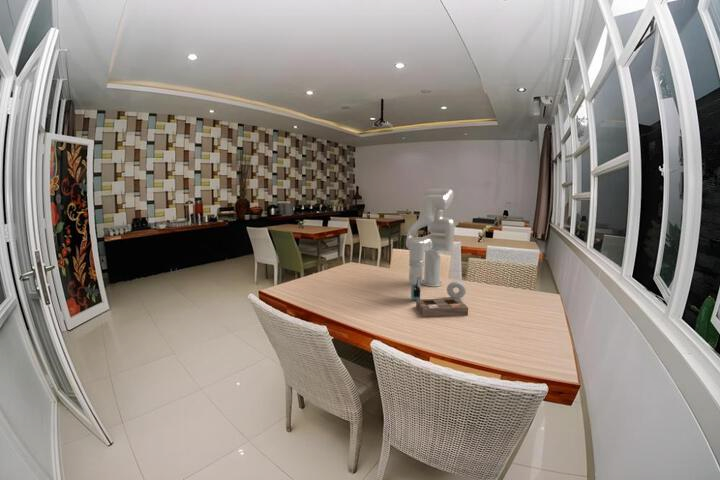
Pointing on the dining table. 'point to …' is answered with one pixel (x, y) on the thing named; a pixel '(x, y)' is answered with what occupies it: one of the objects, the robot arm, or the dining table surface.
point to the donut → (459, 285)
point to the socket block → (441, 307)
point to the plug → (413, 292)
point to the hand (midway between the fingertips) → (415, 294)
